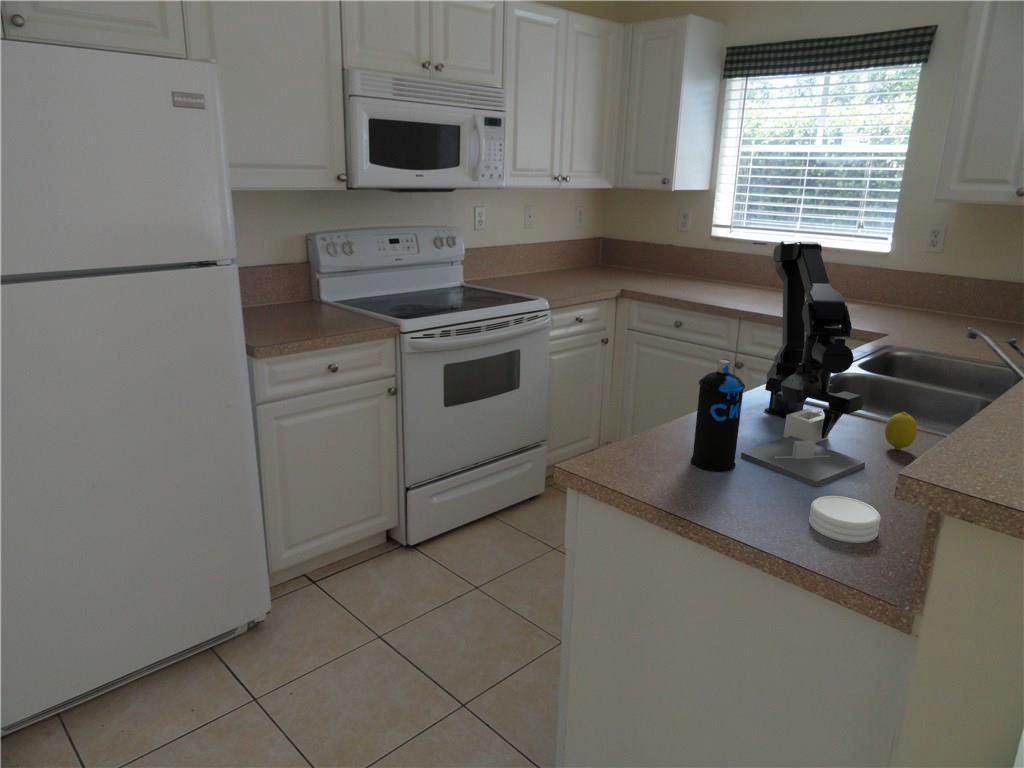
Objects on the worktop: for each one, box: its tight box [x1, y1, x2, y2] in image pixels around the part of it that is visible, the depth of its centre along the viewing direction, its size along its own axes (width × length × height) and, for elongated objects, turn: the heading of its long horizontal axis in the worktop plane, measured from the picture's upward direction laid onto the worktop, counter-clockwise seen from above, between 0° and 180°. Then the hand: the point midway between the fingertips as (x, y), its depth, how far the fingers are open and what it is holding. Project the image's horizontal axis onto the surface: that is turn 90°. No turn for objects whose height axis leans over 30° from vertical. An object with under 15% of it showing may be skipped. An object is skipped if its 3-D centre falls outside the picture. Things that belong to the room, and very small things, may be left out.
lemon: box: [884, 411, 918, 451], centre depth 145 cm, size 6×6×8 cm
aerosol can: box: [690, 359, 746, 473], centre depth 135 cm, size 8×8×20 cm
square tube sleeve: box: [783, 408, 830, 444], centre depth 151 cm, size 6×8×5 cm
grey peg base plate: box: [740, 436, 866, 488], centre depth 139 cm, size 16×16×4 cm
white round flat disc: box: [808, 495, 882, 544], centre depth 114 cm, size 10×10×4 cm
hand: (806, 432), depth 151 cm, fingers open, 7 cm apart
